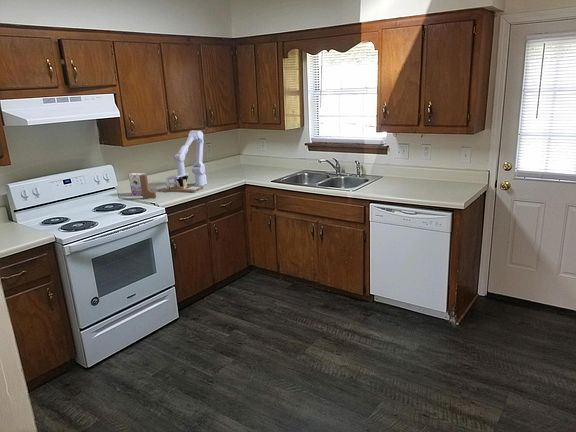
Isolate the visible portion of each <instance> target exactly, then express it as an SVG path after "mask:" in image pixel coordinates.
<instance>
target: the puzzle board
mask: <svg viewBox="0 0 576 432" xmlns="http://www.w3.org/2000/svg"><path fill="white" fill-rule="evenodd" d="M190 187H200V188H198V189H196V190H186V189H188V188H190ZM186 189H180V185H178V186H175V185H173V186H170V189H167V188H166V189H164V192H168V193H189V194H190V193H191V194H195V193H197V192H199V191H201V190H203V189H204V186H194V185H187V188H186Z"/></svg>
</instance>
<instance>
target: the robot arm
mask: <svg viewBox="0 0 576 432" xmlns="http://www.w3.org/2000/svg"><path fill="white" fill-rule="evenodd" d="M193 141H194V142H196V149H195V162H194V163H193V164H192V167H191V171H192V173H193V175H194V178H195V179H194V180H195V184H193V186H202V187H204V186H205V185H208V181H207V175H206V166H205V163H203V155H204V143H205V141H204V133H203V131H202V130H190V131H189V133H188V137H187V139H186V141H185V143H184V145H182V146H181V147H180V149H178V151H177V153H176V154H175V155H174V158H173V159H174V161H175V164H176V168H177V169H176V170H177V174H176V175H177V176H176V177H175V178H176V180H177V182H178V186H180V187H183V180H186V182H187V181H188V179H189V172H186V168H185V160H186V155H187V153H188V152H189V147H190V146H191V144H192V143H193Z"/></svg>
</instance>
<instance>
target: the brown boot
mask: <svg viewBox="0 0 576 432" xmlns="http://www.w3.org/2000/svg"><path fill="white" fill-rule="evenodd" d="M139 177H140V183H141V189H142V195H141V196H142V200H149V199H148V198H153V199H156V198H157V192H156V191H155V190H151V189H150V187H149V181H148V175H147V173H143V174H142V175H140V176H139Z"/></svg>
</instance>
